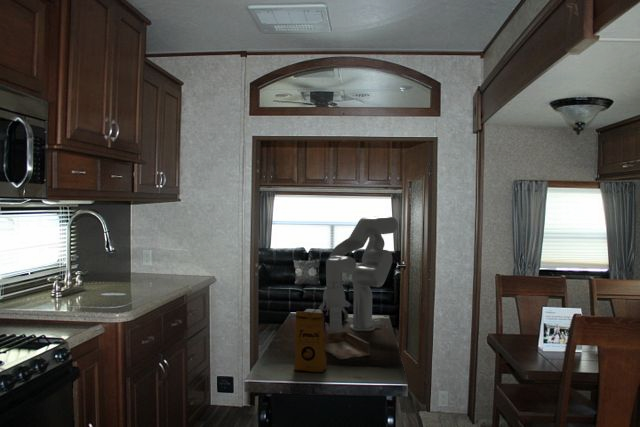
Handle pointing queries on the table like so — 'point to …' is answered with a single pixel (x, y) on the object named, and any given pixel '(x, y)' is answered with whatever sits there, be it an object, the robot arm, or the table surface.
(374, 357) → the table surface
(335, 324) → the small box
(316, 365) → the coffee package
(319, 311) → the puzzle cube
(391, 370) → the table surface
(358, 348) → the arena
